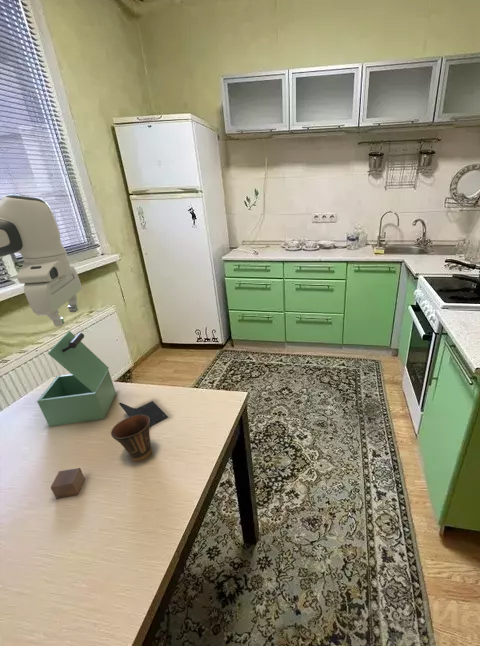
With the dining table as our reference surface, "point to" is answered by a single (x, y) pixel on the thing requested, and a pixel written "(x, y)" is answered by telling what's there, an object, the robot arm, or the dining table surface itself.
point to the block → (67, 483)
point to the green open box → (75, 400)
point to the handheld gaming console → (146, 412)
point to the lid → (79, 360)
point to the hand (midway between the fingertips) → (67, 318)
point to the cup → (134, 436)
